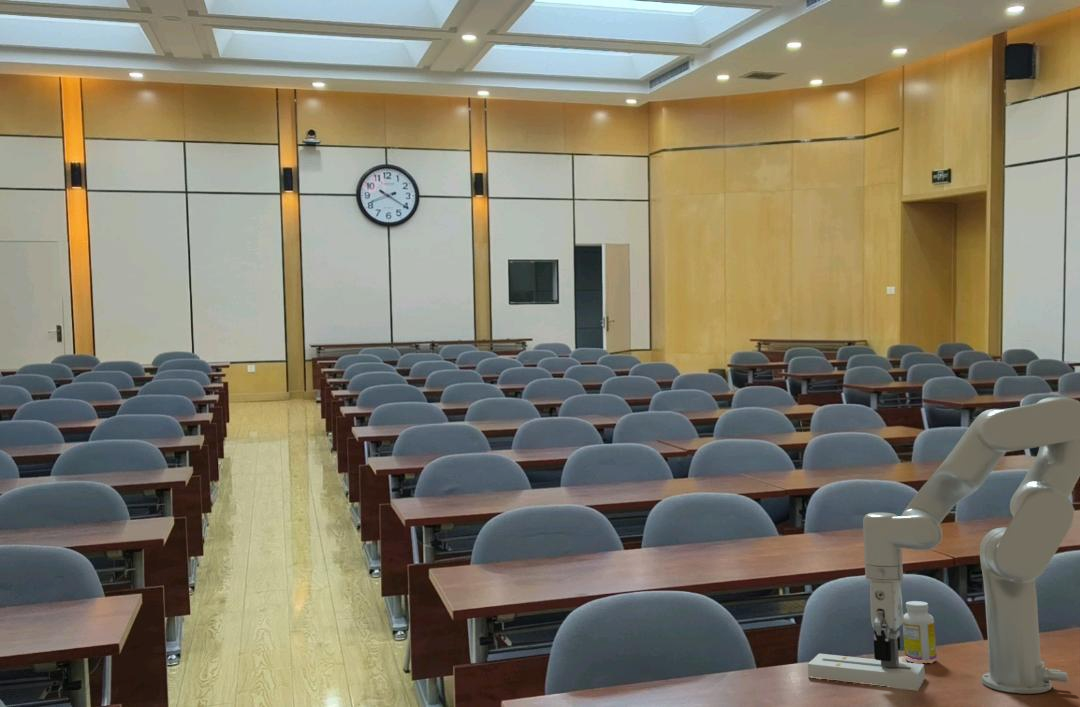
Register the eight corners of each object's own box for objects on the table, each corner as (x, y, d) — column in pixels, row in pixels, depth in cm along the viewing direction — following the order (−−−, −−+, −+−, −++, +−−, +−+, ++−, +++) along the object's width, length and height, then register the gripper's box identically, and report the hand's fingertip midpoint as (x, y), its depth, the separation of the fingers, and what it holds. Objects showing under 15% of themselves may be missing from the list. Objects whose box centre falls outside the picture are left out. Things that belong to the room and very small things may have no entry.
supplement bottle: (931, 656, 211) (927, 599, 212) (941, 664, 205) (937, 606, 205) (901, 657, 212) (897, 600, 213) (909, 665, 205) (906, 606, 206)
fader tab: (901, 664, 195) (899, 630, 196) (898, 668, 192) (896, 634, 193) (881, 661, 197) (879, 628, 198) (878, 666, 194) (876, 632, 195)
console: (925, 678, 195) (924, 663, 196) (917, 690, 188) (916, 675, 188) (819, 667, 207) (818, 653, 207) (808, 678, 199) (807, 663, 199)
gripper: (894, 580, 187) (898, 667, 186) (910, 566, 201) (913, 646, 200) (856, 578, 190) (860, 662, 190) (874, 564, 205) (877, 642, 204)
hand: (887, 654), depth 195 cm, fingers open, 9 cm apart
